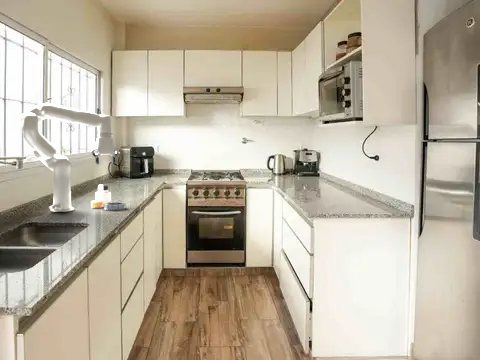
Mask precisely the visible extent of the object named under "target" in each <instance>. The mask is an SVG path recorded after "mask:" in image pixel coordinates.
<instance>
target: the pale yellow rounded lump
mask: <svg viewBox="0 0 480 360" xmlns="http://www.w3.org/2000/svg"><path fill="white" fill-rule="evenodd" d="M90 208H91V209H102V208H103V209H104V204H103V201H102V200H96V199H95V200H91V201H90Z"/></svg>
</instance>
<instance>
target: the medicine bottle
mask: <svg viewBox="0 0 480 360" xmlns="http://www.w3.org/2000/svg"><path fill="white" fill-rule="evenodd" d="M95 200H102V201H103V205H104V204H105V203H111V202H112V192H111V191H109V185H108V184H98V185H97V191H96V192H95Z"/></svg>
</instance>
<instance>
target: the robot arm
mask: <svg viewBox="0 0 480 360" xmlns="http://www.w3.org/2000/svg"><path fill="white" fill-rule="evenodd" d="M45 119H50V120H55V121H59V122H64V123H69V124H80V125H85V126H86V127H88V128H97V131H98V134H97V136H98V137H97V138H96V141H95V147H94V148H92V149H91V150H90V153H91V154H92V156H93V157H94V162H95V164H96V165H99V164H100V161H99V160H100V159H99V157H100V155H110V156H111V164H112V165H113V164H115V163H116V156H118V154H119V152H120V150H119V149H118V148H116V147H114V140H113V138H112V137H114V133H112V119H111V116H110V115H107V114H97V113H94V112H90V111H85V110H81V109H80V110H79V109H75V108H71V107H66V106H63V105H59V104H56V103H55V104H54V103H49V102H45V103H39V104H38V105H36V106H35V107H33V108H31V109H29V110H27V111H26V112H24V113H22V114H20V116H19V117H18V118H17V123H18V125H19V126H20V127H21V128H22V135H23V138H24V139H25V141H26V142H27V144H29V146H30V147H31V148H32V150H33V154H34V155H35V157H36V158H37V159H38V160H39V161H40V162H41V163H42V164H43V165H44V166H46V167H47V168H48V169H49V170H50V171H51V172H52V196H53V198H52V199H53V200H52V201H53V203H52V205H50V206H48V209H49V210H50V211H51V212H54V213H61V212H62V213H64V212H65V213H66V212H72V211H74V210H75V208H74V207H73V206H72V191H71V171H72V163H71V160H70V159H69V157H67V156H65V155H59V154H58V153H57V150H56V149H57V148H56V147H55V146H54V145H53V143H51V141H49V140H48V139H47V138H46V137H45V136H44V135H43V134H42V133H41V131H40V128H39V126H40V123H41V122H43V121H44V120H45Z"/></svg>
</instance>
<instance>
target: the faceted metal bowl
mask: <svg viewBox="0 0 480 360" xmlns="http://www.w3.org/2000/svg"><path fill="white" fill-rule="evenodd" d="M103 209H104V211H124V210H127V203H126V202H121V201H119V202H116V201H115V202H112V201H111V203H105V204H103Z"/></svg>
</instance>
